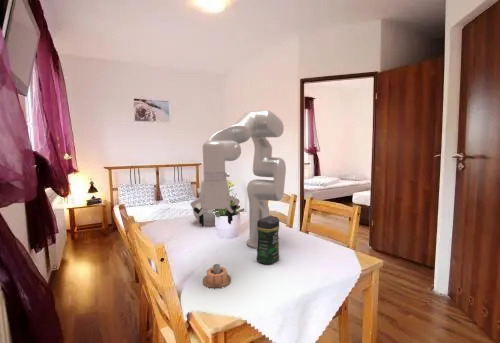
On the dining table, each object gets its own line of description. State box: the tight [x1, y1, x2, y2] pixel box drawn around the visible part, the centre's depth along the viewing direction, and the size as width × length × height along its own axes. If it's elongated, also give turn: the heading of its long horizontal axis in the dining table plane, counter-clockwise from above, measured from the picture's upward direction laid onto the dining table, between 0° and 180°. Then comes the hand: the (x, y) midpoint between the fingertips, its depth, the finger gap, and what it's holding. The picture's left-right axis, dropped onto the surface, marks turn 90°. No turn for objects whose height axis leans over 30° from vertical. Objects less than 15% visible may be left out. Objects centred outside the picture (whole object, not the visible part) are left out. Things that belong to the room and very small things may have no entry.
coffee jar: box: [256, 215, 280, 265], centre depth 118 cm, size 10×8×19 cm
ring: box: [206, 266, 228, 284], centre depth 102 cm, size 7×7×3 cm
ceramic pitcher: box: [192, 186, 216, 227], centre depth 170 cm, size 22×20×25 cm
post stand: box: [202, 263, 232, 290], centre depth 101 cm, size 10×10×6 cm
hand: (216, 224), depth 101 cm, fingers open, 9 cm apart
